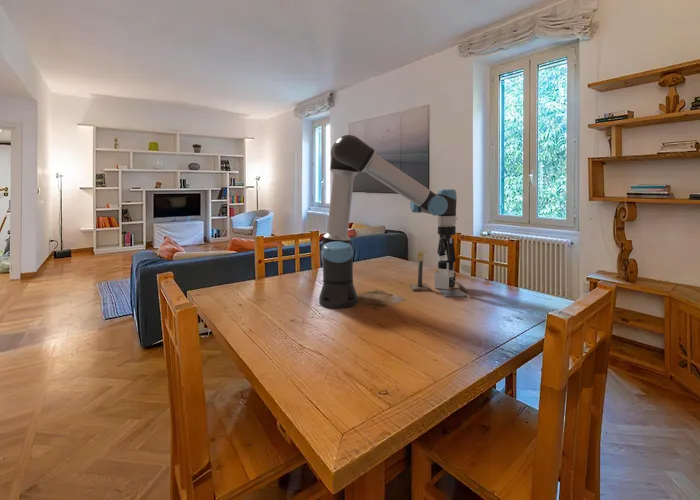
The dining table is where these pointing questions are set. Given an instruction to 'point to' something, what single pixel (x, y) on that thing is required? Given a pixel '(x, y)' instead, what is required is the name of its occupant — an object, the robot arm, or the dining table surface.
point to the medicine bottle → (443, 277)
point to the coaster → (453, 293)
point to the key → (421, 255)
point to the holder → (425, 286)
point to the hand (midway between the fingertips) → (445, 273)
